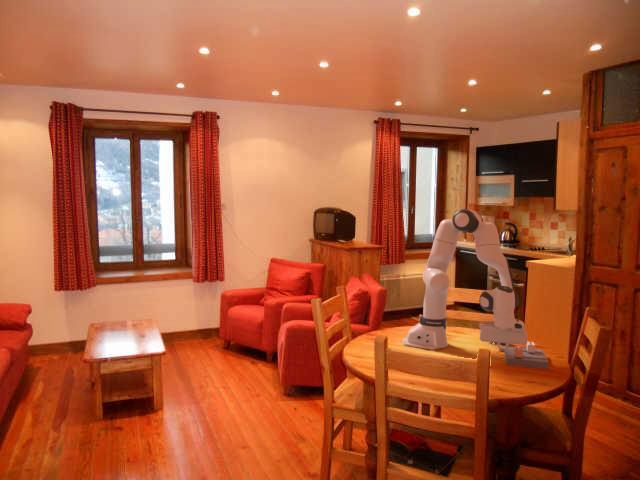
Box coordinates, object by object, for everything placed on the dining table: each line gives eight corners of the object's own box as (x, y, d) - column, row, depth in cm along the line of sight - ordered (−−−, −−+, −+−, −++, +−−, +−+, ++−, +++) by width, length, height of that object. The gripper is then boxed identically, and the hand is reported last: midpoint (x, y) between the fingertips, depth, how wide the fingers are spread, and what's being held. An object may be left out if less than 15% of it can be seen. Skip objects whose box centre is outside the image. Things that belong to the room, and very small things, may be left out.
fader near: (515, 356, 220) (515, 349, 219) (514, 353, 224) (514, 345, 224) (522, 357, 219) (522, 349, 218) (521, 354, 224) (521, 346, 223)
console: (506, 364, 220) (507, 358, 219) (504, 352, 237) (504, 346, 236) (548, 369, 215) (548, 362, 214) (542, 356, 232) (543, 349, 231)
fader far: (527, 352, 226) (527, 344, 226) (526, 348, 231) (526, 341, 231) (534, 352, 226) (534, 345, 225) (533, 349, 230) (533, 342, 230)
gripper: (479, 322, 222) (478, 352, 224) (528, 325, 217) (527, 356, 218) (479, 318, 228) (478, 347, 230) (526, 322, 223) (525, 352, 224)
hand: (502, 352), depth 224 cm, fingers closed
